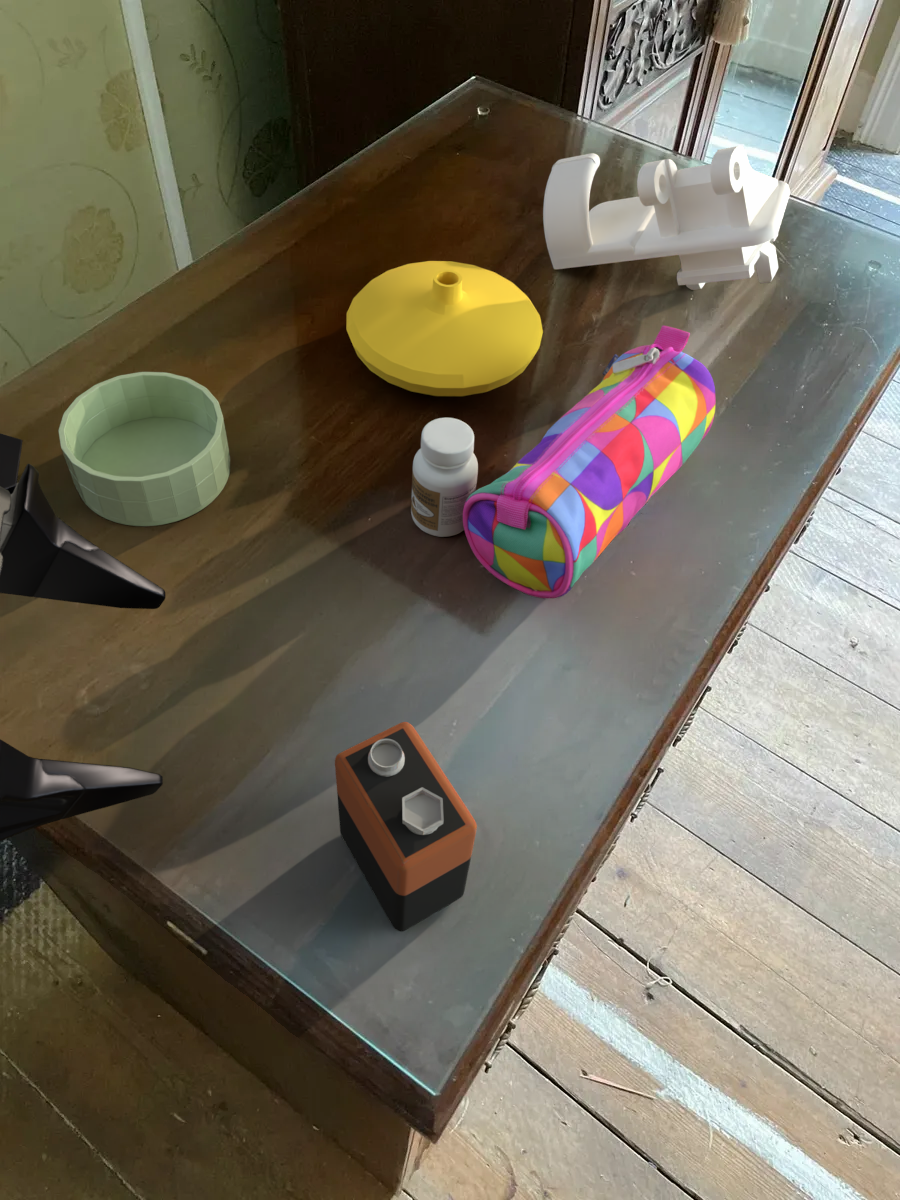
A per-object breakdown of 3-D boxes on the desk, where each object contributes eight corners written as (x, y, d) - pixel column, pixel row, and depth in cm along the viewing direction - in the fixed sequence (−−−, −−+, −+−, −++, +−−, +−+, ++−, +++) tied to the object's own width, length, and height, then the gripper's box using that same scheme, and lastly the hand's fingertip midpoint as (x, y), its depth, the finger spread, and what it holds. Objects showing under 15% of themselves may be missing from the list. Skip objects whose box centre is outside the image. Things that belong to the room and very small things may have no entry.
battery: (397, 937, 50) (400, 865, 42) (336, 831, 53) (329, 745, 45) (467, 896, 51) (484, 818, 43) (404, 795, 55) (409, 705, 47)
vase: (420, 272, 85) (423, 198, 79) (572, 342, 80) (587, 269, 75) (307, 362, 77) (301, 287, 71) (469, 447, 72) (477, 373, 66)
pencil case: (601, 398, 76) (624, 302, 69) (708, 449, 73) (743, 355, 66) (447, 566, 65) (455, 472, 58) (565, 634, 62) (590, 544, 55)
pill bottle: (401, 502, 68) (403, 421, 62) (456, 486, 69) (463, 405, 63) (426, 546, 66) (430, 466, 60) (482, 528, 67) (493, 448, 61)
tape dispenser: (564, 328, 89) (522, 191, 82) (612, 269, 95) (577, 137, 88) (778, 312, 77) (752, 150, 70) (817, 246, 84) (798, 90, 76)
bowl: (85, 541, 64) (68, 495, 61) (68, 434, 70) (51, 386, 67) (244, 508, 67) (237, 462, 63) (214, 407, 73) (206, 360, 69)
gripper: (-361, 742, 22) (254, 813, 31) (-185, 257, 33) (236, 411, 41) (-380, 907, 29) (127, 928, 38) (-229, 462, 40) (140, 557, 48)
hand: (161, 686), depth 41 cm, fingers open, 9 cm apart
